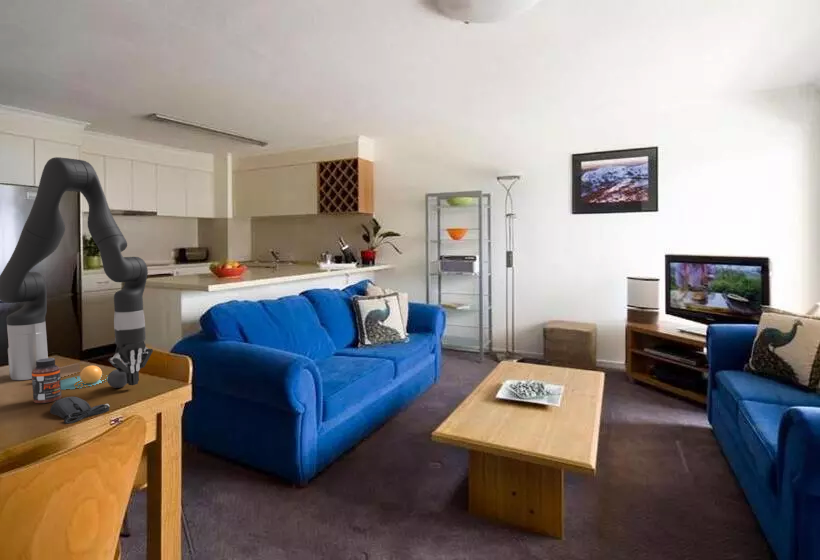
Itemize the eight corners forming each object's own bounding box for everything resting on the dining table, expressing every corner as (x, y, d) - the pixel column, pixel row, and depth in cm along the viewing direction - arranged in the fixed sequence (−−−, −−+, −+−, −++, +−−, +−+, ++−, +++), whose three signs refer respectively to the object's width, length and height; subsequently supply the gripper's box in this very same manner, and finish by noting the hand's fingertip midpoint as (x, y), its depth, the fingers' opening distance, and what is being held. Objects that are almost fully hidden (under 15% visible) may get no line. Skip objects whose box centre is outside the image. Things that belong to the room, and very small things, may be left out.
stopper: (36, 383, 135) (36, 373, 134) (76, 372, 146) (76, 363, 146) (40, 383, 134) (39, 373, 134) (80, 372, 146) (79, 363, 145)
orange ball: (91, 382, 131) (79, 389, 132) (109, 377, 136) (97, 383, 138) (84, 365, 131) (72, 372, 133) (102, 360, 136) (90, 367, 138)
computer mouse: (80, 402, 120) (79, 388, 120) (113, 412, 114) (112, 397, 113) (36, 415, 111) (35, 401, 111) (68, 426, 105) (67, 411, 104)
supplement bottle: (45, 405, 117) (42, 363, 116) (27, 403, 118) (24, 361, 117) (67, 397, 123) (64, 357, 122) (49, 395, 124) (47, 356, 123)
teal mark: (40, 386, 131) (40, 386, 131) (87, 373, 145) (87, 372, 145) (74, 391, 127) (74, 391, 127) (119, 377, 140) (119, 377, 140)
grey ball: (118, 376, 127) (114, 393, 128) (135, 370, 132) (132, 387, 133) (104, 368, 129) (101, 385, 129) (121, 364, 134) (118, 380, 135)
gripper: (140, 321, 135) (143, 376, 137) (98, 329, 123) (101, 390, 124) (159, 322, 133) (161, 379, 134) (118, 331, 120) (121, 393, 122)
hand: (132, 384), depth 129 cm, fingers closed
